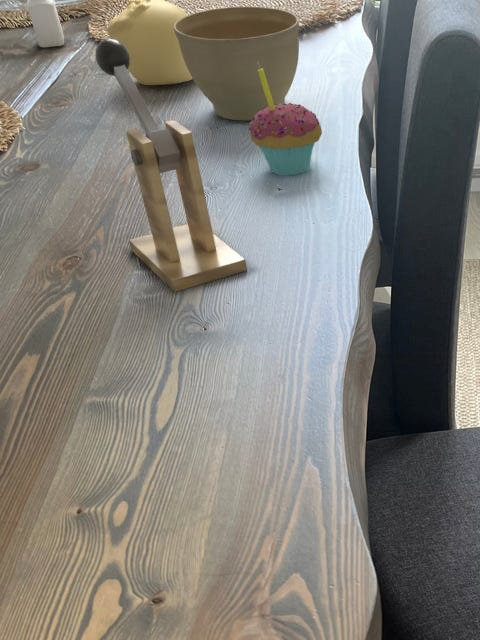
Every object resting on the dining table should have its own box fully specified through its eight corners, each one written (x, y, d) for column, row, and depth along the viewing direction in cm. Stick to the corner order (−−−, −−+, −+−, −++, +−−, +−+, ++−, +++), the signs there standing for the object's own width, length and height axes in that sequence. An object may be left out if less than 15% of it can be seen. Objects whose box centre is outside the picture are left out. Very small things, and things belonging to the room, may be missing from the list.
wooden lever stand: (131, 250, 108) (97, 123, 99) (200, 231, 111) (173, 106, 102) (174, 292, 101) (141, 158, 92) (247, 270, 104) (222, 139, 95)
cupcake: (266, 186, 120) (247, 75, 111) (247, 162, 125) (228, 55, 117) (334, 173, 122) (321, 64, 114) (313, 150, 128) (299, 44, 119)
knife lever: (90, 59, 100) (88, 33, 97) (121, 53, 101) (120, 28, 98) (153, 177, 99) (154, 155, 96) (184, 170, 100) (185, 148, 97)
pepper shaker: (65, 46, 163) (46, -22, 156) (39, 49, 162) (19, -20, 156) (65, 40, 166) (46, -28, 159) (40, 42, 165) (20, -26, 158)
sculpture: (154, 66, 155) (136, -16, 147) (222, 73, 151) (206, -10, 144) (110, 89, 147) (88, 4, 140) (179, 97, 144) (161, 10, 136)
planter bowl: (264, 138, 131) (249, 44, 124) (168, 121, 137) (147, 30, 129) (332, 100, 141) (321, 12, 134) (239, 86, 147) (224, 0, 139)
